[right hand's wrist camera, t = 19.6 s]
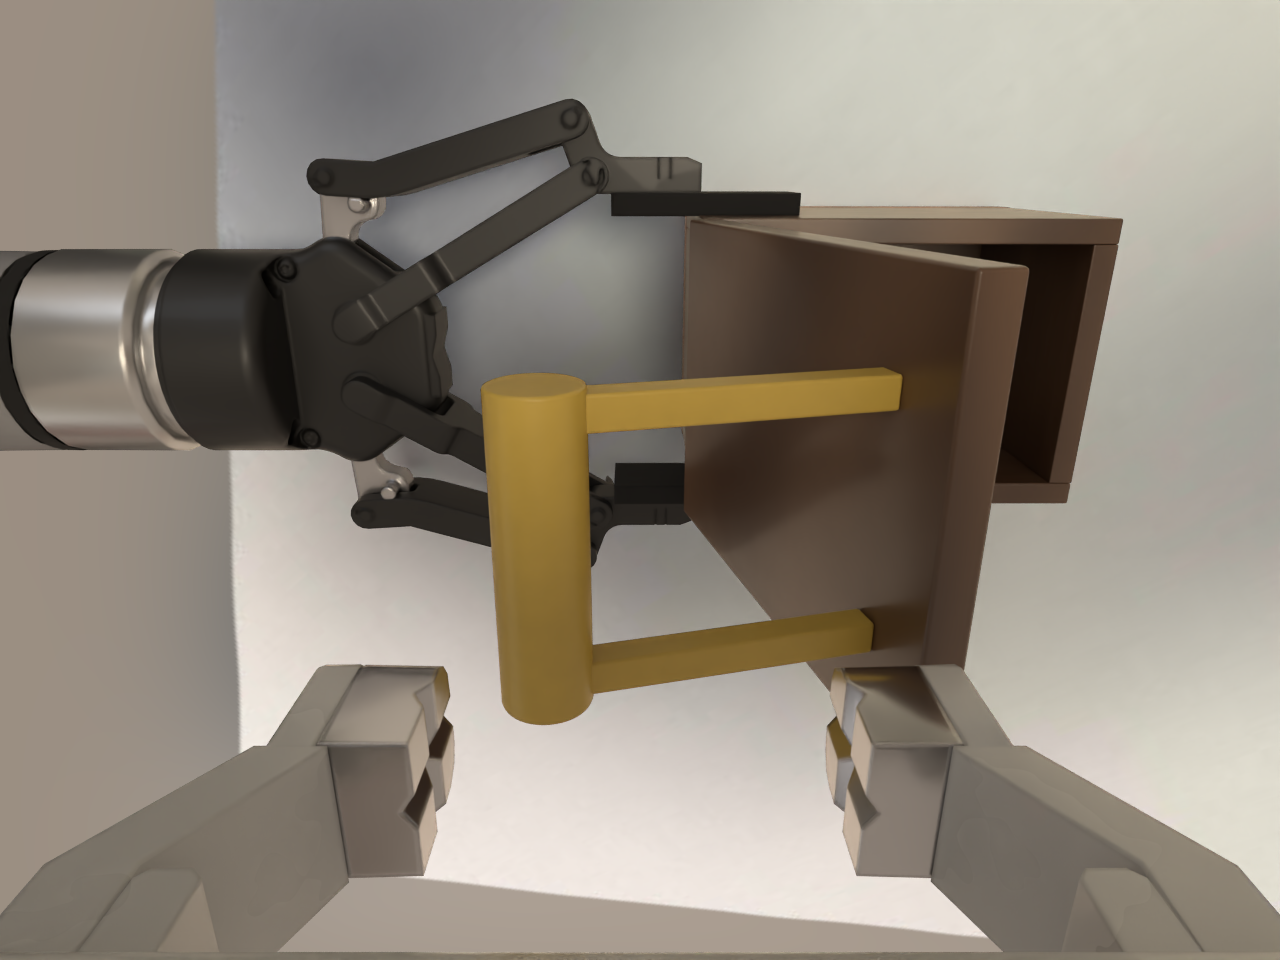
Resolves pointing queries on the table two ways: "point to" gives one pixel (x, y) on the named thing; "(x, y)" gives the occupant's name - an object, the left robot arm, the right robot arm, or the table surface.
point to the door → (773, 466)
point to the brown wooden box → (1050, 327)
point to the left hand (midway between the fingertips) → (783, 351)
